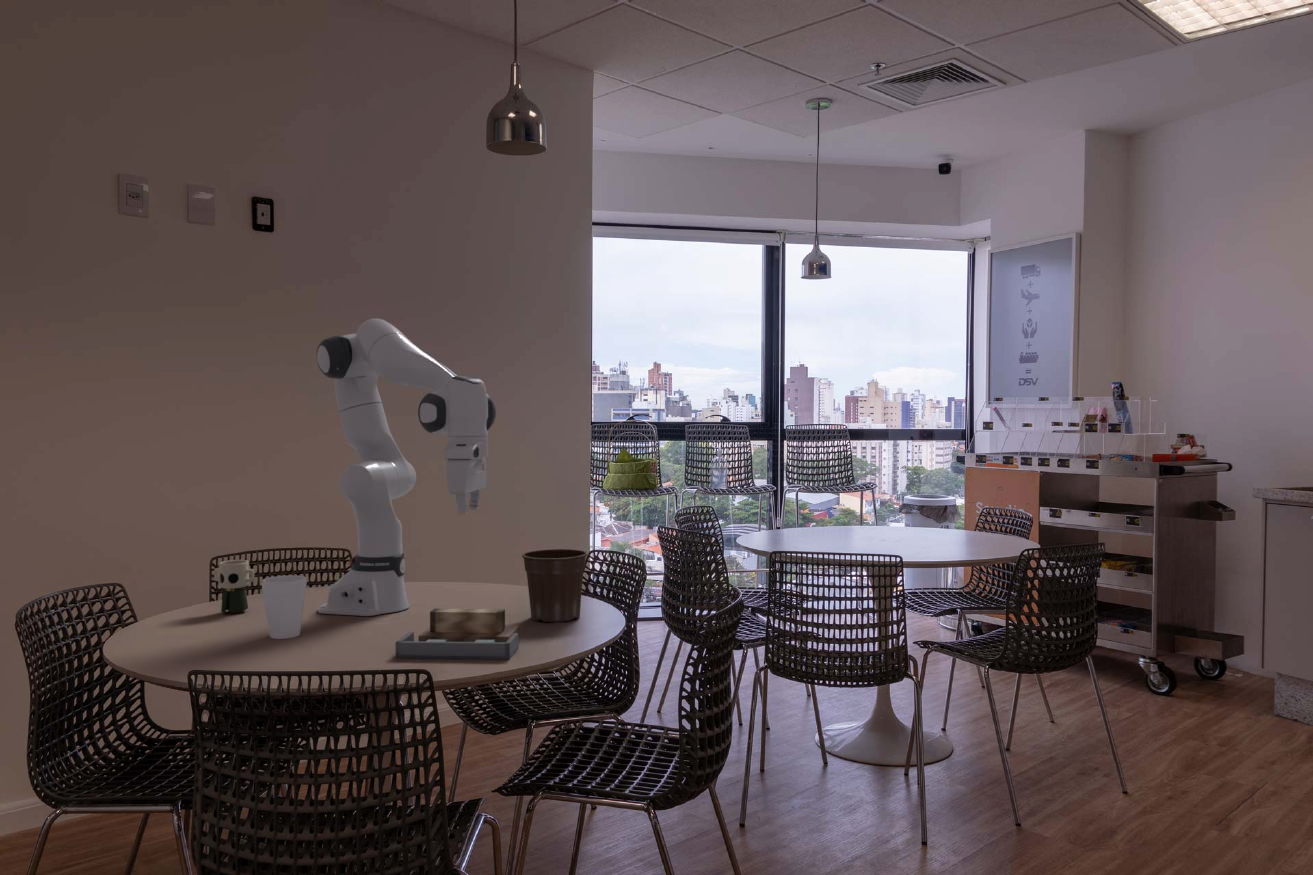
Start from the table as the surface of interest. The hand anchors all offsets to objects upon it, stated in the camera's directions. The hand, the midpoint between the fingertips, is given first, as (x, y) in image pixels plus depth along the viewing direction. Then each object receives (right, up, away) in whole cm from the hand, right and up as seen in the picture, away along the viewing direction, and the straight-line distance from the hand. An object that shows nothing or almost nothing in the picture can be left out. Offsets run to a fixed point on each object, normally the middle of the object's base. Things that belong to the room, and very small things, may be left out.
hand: (468, 511), depth 205 cm
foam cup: (-44, -29, +7) cm, 53 cm away
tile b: (+5, -29, -8) cm, 30 cm away
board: (0, -29, +1) cm, 29 cm away
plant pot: (+16, -29, +25) cm, 41 cm away
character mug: (-66, -29, +32) cm, 79 cm away
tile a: (-6, -29, -7) cm, 30 cm away
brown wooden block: (0, -27, +1) cm, 27 cm away
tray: (-1, -29, -9) cm, 31 cm away
